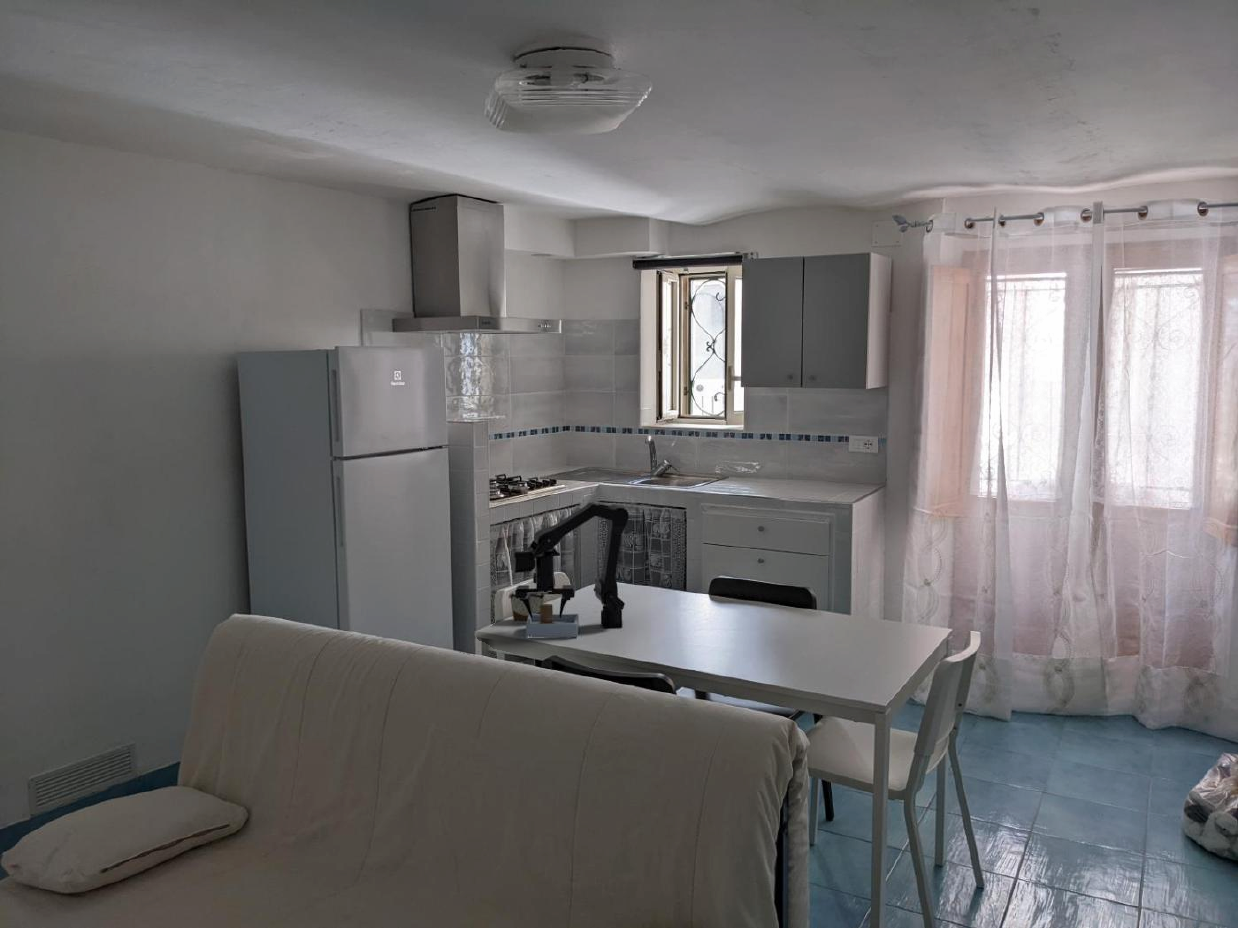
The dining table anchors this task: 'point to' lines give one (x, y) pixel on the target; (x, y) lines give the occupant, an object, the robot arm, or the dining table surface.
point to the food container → (520, 609)
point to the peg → (546, 614)
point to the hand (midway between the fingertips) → (545, 617)
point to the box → (553, 626)
